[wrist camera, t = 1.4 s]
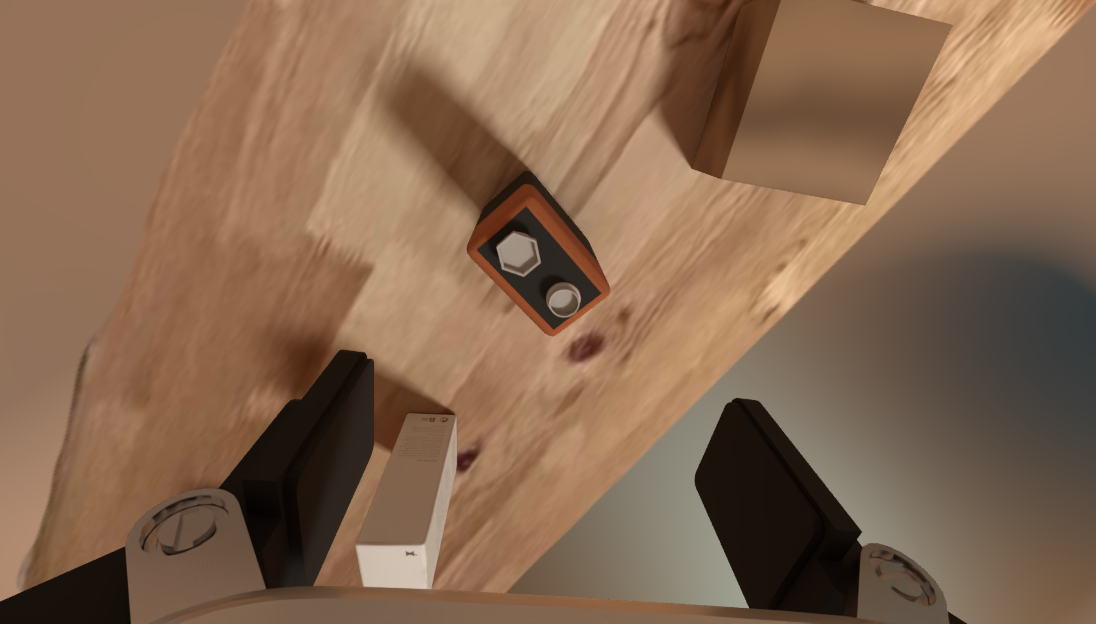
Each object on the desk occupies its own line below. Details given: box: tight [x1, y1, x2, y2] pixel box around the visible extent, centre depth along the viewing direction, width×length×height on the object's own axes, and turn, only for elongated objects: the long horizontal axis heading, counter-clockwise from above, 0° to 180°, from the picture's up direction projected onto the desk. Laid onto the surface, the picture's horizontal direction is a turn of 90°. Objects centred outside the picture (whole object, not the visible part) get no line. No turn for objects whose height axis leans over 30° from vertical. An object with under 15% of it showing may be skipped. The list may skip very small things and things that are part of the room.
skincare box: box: [355, 413, 457, 589], centre depth 32 cm, size 6×4×12 cm
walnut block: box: [692, 0, 953, 205], centre depth 25 cm, size 9×9×5 cm
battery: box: [467, 171, 610, 336], centre depth 25 cm, size 4×7×10 cm, turn 40°
